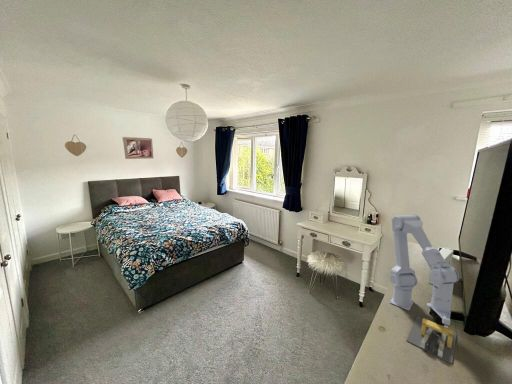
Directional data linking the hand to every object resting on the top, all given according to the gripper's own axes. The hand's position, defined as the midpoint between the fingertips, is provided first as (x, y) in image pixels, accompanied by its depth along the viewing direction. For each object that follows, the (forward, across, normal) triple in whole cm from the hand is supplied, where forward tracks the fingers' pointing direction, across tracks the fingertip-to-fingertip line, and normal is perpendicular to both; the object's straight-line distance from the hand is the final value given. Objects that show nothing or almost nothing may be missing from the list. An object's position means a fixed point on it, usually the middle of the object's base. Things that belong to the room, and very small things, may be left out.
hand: (437, 328), depth 83 cm
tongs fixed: (+3, +4, 0) cm, 5 cm away
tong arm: (+3, +5, -4) cm, 7 cm away
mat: (+3, +2, -2) cm, 4 cm away
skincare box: (+4, -51, +14) cm, 53 cm away
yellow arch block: (+3, +3, -1) cm, 5 cm away
